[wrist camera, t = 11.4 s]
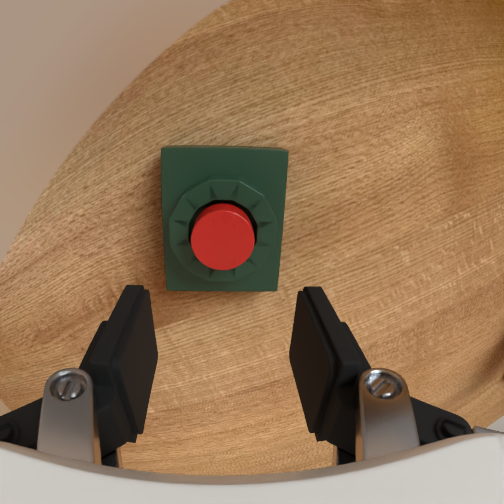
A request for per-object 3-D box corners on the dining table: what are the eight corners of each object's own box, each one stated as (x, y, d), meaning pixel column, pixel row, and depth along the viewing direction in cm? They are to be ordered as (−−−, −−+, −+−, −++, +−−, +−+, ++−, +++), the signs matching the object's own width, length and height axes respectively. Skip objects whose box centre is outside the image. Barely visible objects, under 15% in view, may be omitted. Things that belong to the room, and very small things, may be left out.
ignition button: (192, 202, 19) (190, 210, 17) (253, 203, 19) (256, 211, 17) (193, 258, 20) (191, 270, 18) (250, 258, 20) (253, 271, 19)
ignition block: (166, 145, 21) (154, 150, 17) (282, 148, 21) (295, 153, 18) (170, 276, 24) (162, 304, 21) (273, 278, 25) (281, 304, 21)
